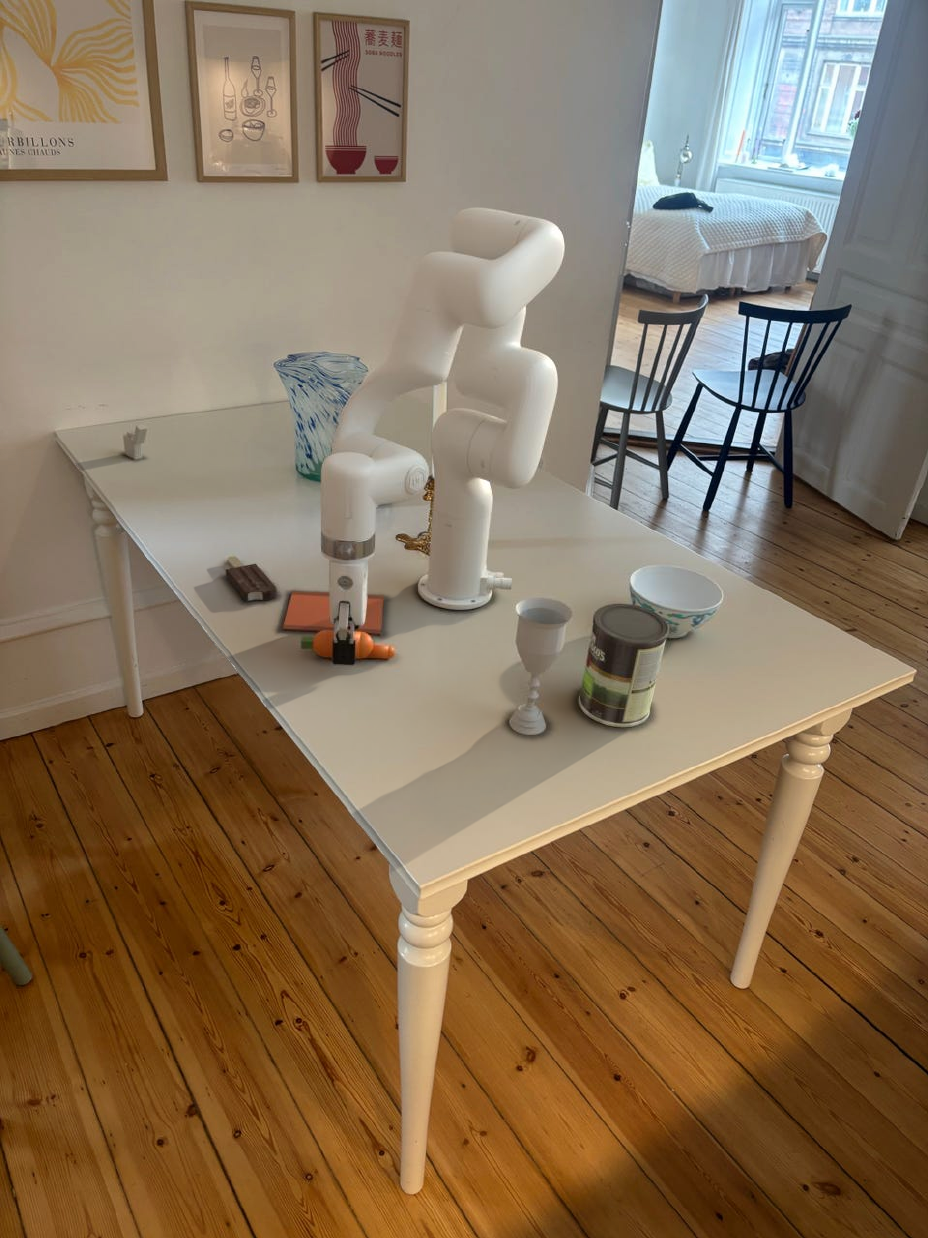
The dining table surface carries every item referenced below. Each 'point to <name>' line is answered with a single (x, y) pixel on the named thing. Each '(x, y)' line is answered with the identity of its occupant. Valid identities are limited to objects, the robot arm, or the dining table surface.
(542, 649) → the chalice
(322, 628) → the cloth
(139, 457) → the white jagged block
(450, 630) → the dining table surface
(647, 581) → the chinaware
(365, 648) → the carrot
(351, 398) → the robot arm
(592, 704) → the coffee can
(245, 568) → the ice cream bar
